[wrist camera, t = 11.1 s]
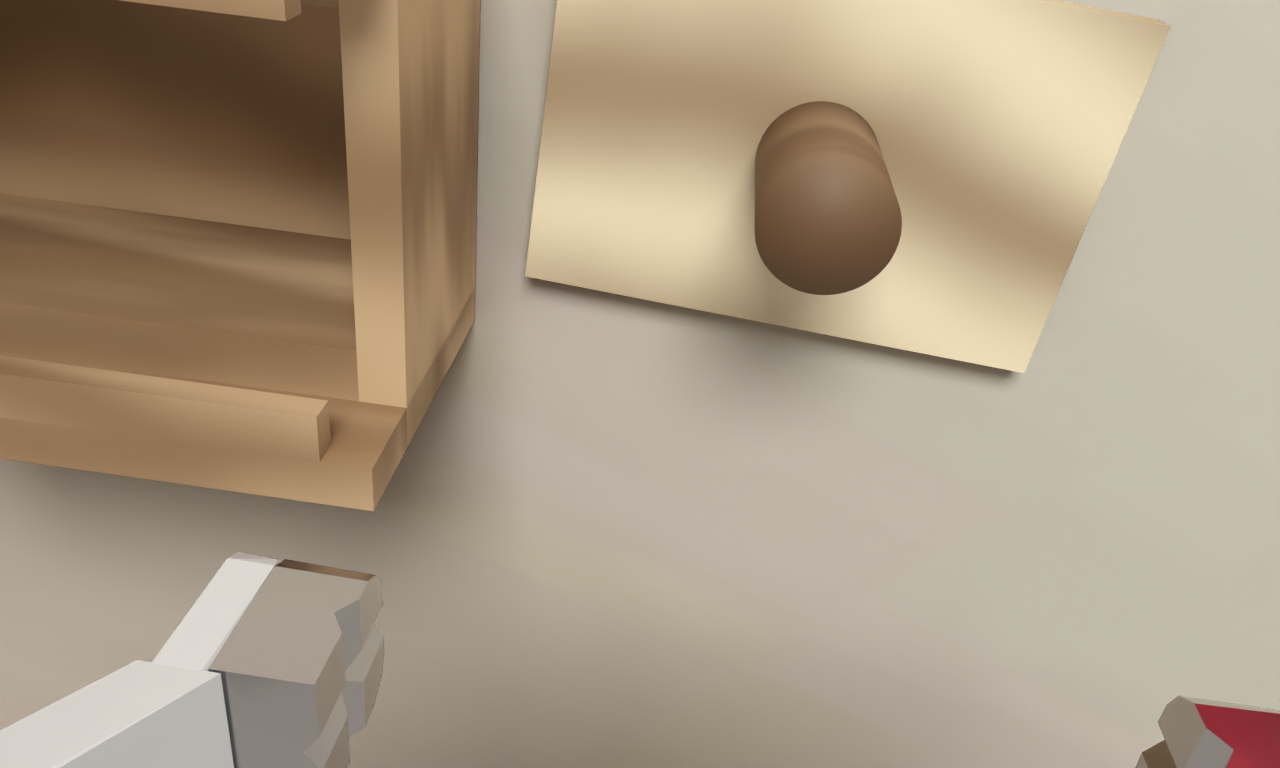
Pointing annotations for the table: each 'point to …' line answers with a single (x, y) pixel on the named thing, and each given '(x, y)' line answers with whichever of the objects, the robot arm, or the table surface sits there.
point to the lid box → (234, 236)
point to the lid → (836, 160)
